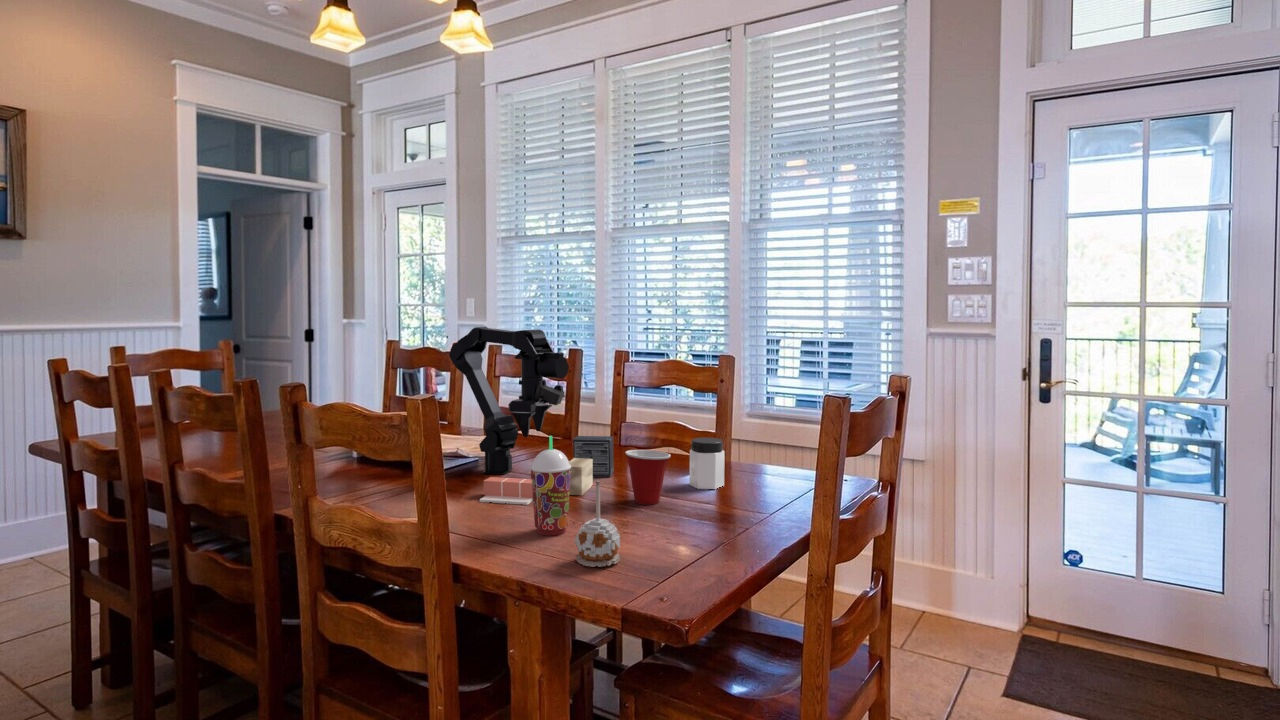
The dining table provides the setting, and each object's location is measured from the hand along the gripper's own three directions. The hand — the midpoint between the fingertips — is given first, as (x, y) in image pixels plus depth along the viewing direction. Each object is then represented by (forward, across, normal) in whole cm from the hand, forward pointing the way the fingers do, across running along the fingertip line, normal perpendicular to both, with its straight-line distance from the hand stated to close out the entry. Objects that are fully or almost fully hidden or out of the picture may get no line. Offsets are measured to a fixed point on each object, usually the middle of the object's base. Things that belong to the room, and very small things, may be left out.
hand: (532, 434), depth 196 cm
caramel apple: (+12, -58, -35) cm, 69 cm away
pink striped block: (+11, -20, -3) cm, 23 cm away
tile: (+12, -20, -2) cm, 23 cm away
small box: (+12, +8, -15) cm, 21 cm away
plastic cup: (+12, -16, -36) cm, 41 cm away
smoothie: (+12, -43, -21) cm, 50 cm away
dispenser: (+12, -9, -13) cm, 20 cm away
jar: (+12, +2, -47) cm, 49 cm away
